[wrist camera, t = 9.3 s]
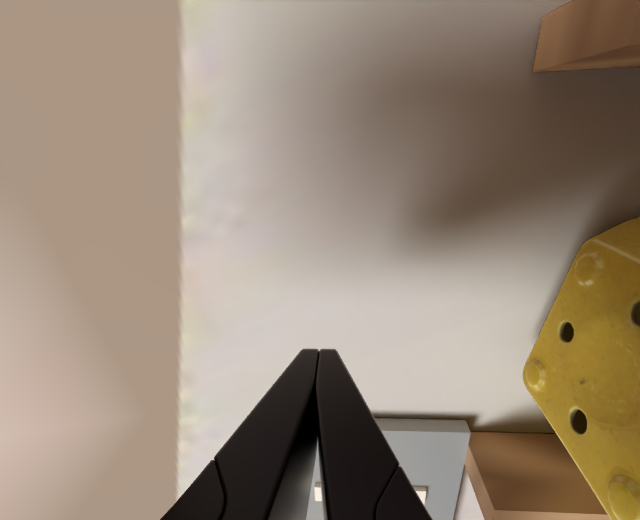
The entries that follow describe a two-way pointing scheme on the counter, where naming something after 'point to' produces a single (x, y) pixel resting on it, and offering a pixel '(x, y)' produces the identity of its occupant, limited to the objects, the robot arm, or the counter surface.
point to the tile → (419, 462)
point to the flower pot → (596, 367)
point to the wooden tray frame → (534, 448)
